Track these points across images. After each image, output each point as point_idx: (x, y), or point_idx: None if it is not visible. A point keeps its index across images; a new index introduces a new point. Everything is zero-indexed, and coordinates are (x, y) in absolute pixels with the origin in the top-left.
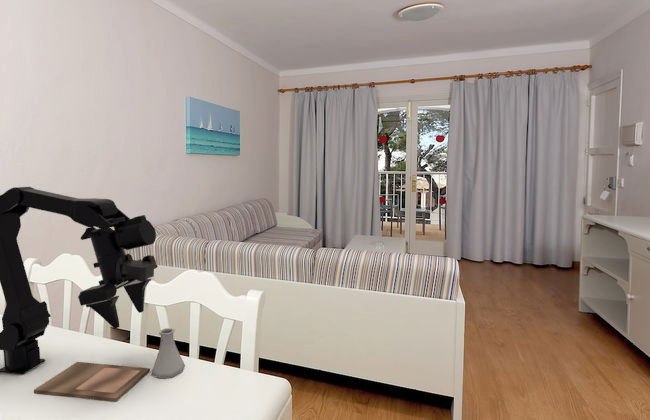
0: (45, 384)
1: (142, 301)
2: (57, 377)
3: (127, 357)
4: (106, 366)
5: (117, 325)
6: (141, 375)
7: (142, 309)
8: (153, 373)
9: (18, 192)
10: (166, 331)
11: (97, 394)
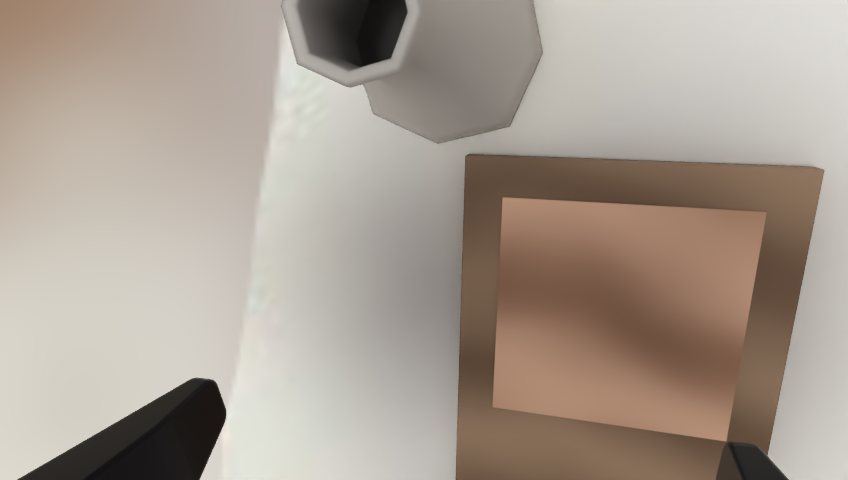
0: None
1: (95, 462)
2: None
3: (349, 355)
4: (478, 405)
5: (775, 471)
6: (551, 161)
7: (194, 393)
8: (514, 104)
9: None
10: (318, 49)
11: (781, 299)
